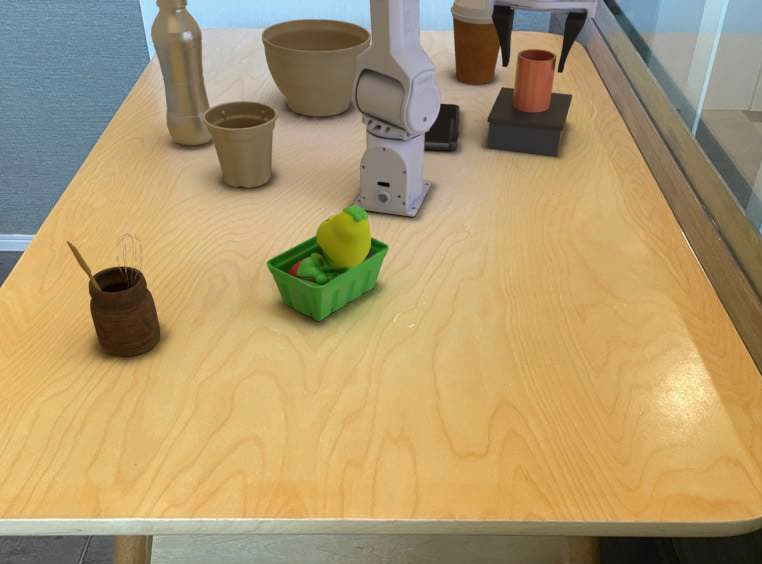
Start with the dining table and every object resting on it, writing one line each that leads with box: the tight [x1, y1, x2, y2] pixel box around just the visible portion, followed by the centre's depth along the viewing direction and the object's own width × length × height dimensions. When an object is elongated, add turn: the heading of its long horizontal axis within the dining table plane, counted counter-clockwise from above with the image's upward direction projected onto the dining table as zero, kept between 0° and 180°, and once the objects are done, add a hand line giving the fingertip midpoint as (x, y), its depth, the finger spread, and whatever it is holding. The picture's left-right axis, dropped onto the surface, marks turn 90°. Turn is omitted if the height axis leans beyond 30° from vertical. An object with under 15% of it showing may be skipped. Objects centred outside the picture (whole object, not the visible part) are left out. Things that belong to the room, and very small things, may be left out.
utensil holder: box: [66, 233, 161, 357], centre depth 76 cm, size 6×6×12 cm
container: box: [486, 86, 573, 157], centre depth 119 cm, size 13×11×4 cm
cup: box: [513, 48, 558, 112], centre depth 115 cm, size 5×5×7 cm
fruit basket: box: [266, 205, 390, 322], centre depth 83 cm, size 11×9×11 cm
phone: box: [424, 103, 461, 152], centre depth 121 cm, size 8×1×15 cm
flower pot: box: [202, 100, 279, 189], centre depth 105 cm, size 9×9×9 cm
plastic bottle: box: [150, 0, 213, 146], centre depth 110 cm, size 6×7×20 cm
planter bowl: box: [261, 18, 372, 117], centre depth 124 cm, size 16×16×11 cm
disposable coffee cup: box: [450, 0, 501, 85], centre depth 135 cm, size 10×10×12 cm
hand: (532, 67), depth 113 cm, fingers open, 7 cm apart
